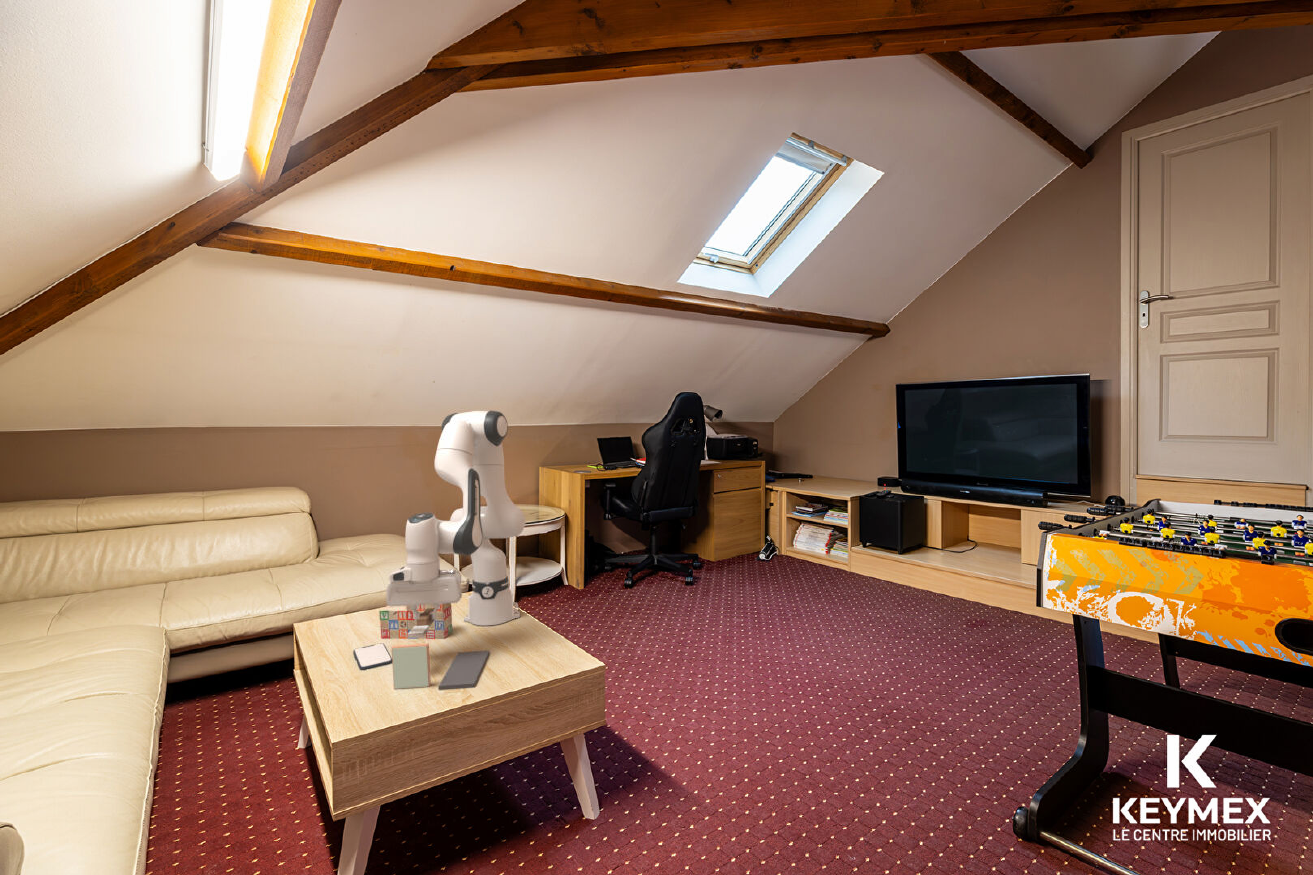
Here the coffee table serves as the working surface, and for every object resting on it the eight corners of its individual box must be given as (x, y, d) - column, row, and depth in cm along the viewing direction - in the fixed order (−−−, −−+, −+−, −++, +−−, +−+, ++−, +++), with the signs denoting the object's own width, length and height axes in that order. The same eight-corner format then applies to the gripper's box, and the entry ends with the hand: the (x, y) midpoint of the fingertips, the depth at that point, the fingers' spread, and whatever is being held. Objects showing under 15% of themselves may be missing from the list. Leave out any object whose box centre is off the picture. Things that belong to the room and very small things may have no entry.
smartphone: (393, 665, 178) (384, 647, 192) (393, 660, 178) (383, 642, 192) (360, 673, 174) (352, 654, 187) (359, 668, 174) (352, 649, 187)
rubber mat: (458, 655, 182) (458, 652, 182) (489, 653, 183) (489, 650, 183) (438, 689, 160) (438, 685, 160) (474, 687, 161) (474, 683, 161)
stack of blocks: (380, 639, 198) (378, 601, 198) (390, 631, 204) (388, 595, 204) (444, 639, 196) (442, 600, 196) (453, 632, 202) (451, 594, 202)
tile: (395, 686, 163) (393, 645, 162) (430, 684, 164) (428, 643, 163) (393, 689, 161) (391, 647, 161) (429, 686, 162) (427, 645, 162)
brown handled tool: (424, 618, 183) (424, 608, 183) (438, 617, 183) (438, 607, 183) (407, 638, 167) (407, 626, 167) (423, 637, 167) (422, 626, 167)
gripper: (463, 566, 181) (465, 613, 181) (390, 570, 179) (392, 617, 179) (458, 572, 174) (460, 620, 175) (383, 575, 173) (385, 625, 173)
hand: (425, 619), depth 177 cm, fingers closed on brown handled tool, 3 cm apart
